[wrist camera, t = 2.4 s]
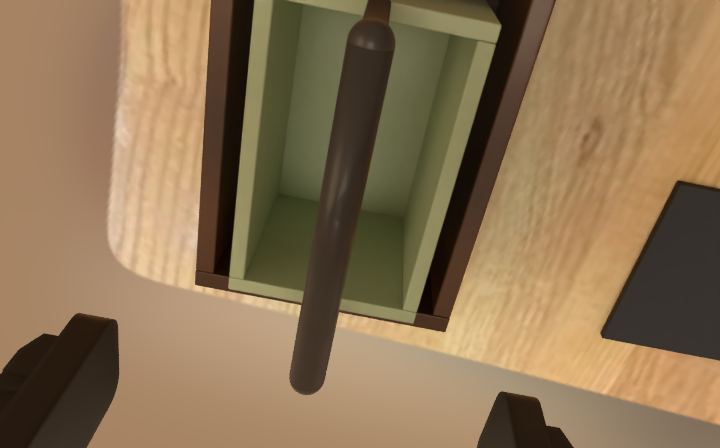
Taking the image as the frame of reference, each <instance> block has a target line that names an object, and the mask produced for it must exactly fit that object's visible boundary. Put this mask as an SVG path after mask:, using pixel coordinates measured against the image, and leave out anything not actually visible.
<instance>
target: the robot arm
mask: <svg viewBox="0 0 720 448" xmlns="http://www.w3.org/2000/svg"><path fill="white" fill-rule="evenodd" d="M118 379H119V348H118V324H117V321H116V320H114V319H109V318H104V317H98V316H93V315H87V314H81V313H77V314H76V315H74V316H73V318H72V319H71V320H70V321H69V323H68V324H67V325H66V327H65V328H64V329H63V331H62V332H61V333H60V335H59V336H55V335H50V334H42V335H41V336H39V337H38V338H36V339H34V340H33V341H31V342H30V343H28V344H27V345H25V346H24V347H22V348H21V349H19V350H18V351H17V353H16V354H15V355H14V356H13V358H12V359H11V360H10V361H9V362H8V364H7V365H6V366H5V367H4V369H3V372H2V374H0V448H87V446H88V444H89V442H90V440H91V439H92V437H93V435H94V433H95V432H96V430H97V428H98V426H99V424H100V422H101V421H102V419H103V417H104V415H105V413H106V412H107V410H108V408H109V406H110V404H111V402H112V400H113V398H114V395H115V392H116V389H117V384H118ZM477 448H574V447H573V446H572V445H571V443H570V442H569V441H568V439H567V438H566V436H565V435H564V433H563V432H562V431H561V429H560V428H557V427H551V426H546V424H545V420H544V416H543V412H542V408H541V404H540V402H539V400H538V399H537V398H535V397H530V396H524V395H518V394H513V393H508V392H500V393H499V394H498V396H497V398H496V400H495V402H494V405H493V407H492V410H491V412H490V414H489V417H488V419H487V421H486V424H485V426H484V429H483V431H482V433H481V436H480V438H479V441H478V445H477Z"/></svg>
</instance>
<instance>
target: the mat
mask: <svg viewBox="0 0 720 448" xmlns="http://www.w3.org/2000/svg"><path fill="white" fill-rule="evenodd" d="M601 336H602V338H605V339H610V340H615V341H620V342H626V343H631V344H636V345H641V346H647V347H652V348H657V349H662V350H668V351H673V352H678V353H683V354H689V355H694V356H699V357H704V358H710V359H715V360H720V189H715V188H710V187H705V186H700V185H695V184H690V183H685V182H680V181H678V182H677V184H676V186H675V188H674V190H673V192H672V194H671V196H670V198H669V200H668V202H667V204H666V206H665V207H664V209H663V211H662V213H661V215H660V217H659V219H658V221H657V223H656V225H655V227H654V229H653V231H652V233H651V235H650V237H649V239H648V241H647V243H646V245H645V247H644V249H643V251H642V253H641V255H640V257H639V259H638V261H637V263H636V265H635V267H634V269H633V271H632V273H631V275H630V277H629V278H628V280H627V282H626V284H625V286H624V288H623V290H622V292H621V294H620V296H619V298H618V300H617V302H616V304H615V306H614V308H613V310H612V312H611V314H610V316H609V318H608V320H607V322H606V324H605V326H604V328H603V330H602V332H601Z"/></svg>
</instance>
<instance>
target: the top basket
mask: <svg viewBox="0 0 720 448" xmlns="http://www.w3.org/2000/svg"><path fill="white" fill-rule="evenodd" d="M500 30H501V24H500V22H499V20H498V19H497V17H496V16H495V14H494V12H493V11H492V9H491V7H490V6H489V4H488V2H487V1H486V0H254V10H253V21H252V32H251V43H250V54H249V65H248V76H247V87H246V98H245V109H244V120H243V131H242V142H241V153H240V164H239V175H238V186H237V197H236V208H235V219H234V230H233V241H232V252H231V263H230V274H229V275H230V277H229V284H228V288H229V289H232V290H237V291H242V292H248V293H253V294H258V295H264V296H269V297H274V298H279V299H285V300H290V301H295V302H300V303H302V305H301V311H300V317H299V323H298V329H297V335H296V340H295V346H294V352H293V358H292V363H291V370H290V377H289V379H290V383H291V386H292V387H293V388H294V390H296V391H297V392H298V393H300V394H303V395H310V394H314V393H316V392H317V391H318V390H319V389H320V388H321V387H322V385H323V383H324V380H325V375H326V370H327V365H328V361H329V356H330V352H331V347H332V342H333V338H334V333H335V328H336V323H337V319H338V314H339V310H343V311H348V312H353V313H358V314H364V315H369V316H374V317H380V318H385V319H390V320H395V321H401V322H406V323H411V324H413V323H414V320H415V317H416V312H417V310H418V306H419V303H420V300H421V296H422V293H423V289H424V286H425V283H426V279H427V276H428V273H429V269H430V266H431V262H432V259H433V256H434V252H435V249H436V246H437V242H438V239H439V236H440V232H441V229H442V225H443V222H444V219H445V215H446V212H447V209H448V205H449V202H450V198H451V195H452V192H453V188H454V185H455V182H456V178H457V175H458V172H459V168H460V165H461V161H462V158H463V155H464V151H465V148H466V145H467V141H468V138H469V134H470V131H471V128H472V124H473V121H474V118H475V114H476V111H477V108H478V104H479V101H480V97H481V94H482V91H483V87H484V84H485V81H486V77H487V74H488V70H489V67H490V64H491V60H492V57H493V54H494V50H495V47H496V45H495V43H496V42H497V40H498V37H499V33H500Z"/></svg>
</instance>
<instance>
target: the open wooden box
mask: <svg viewBox="0 0 720 448" xmlns="http://www.w3.org/2000/svg"><path fill="white" fill-rule="evenodd" d="M486 1H487V2H488V4H489V6H490V7H491V9H492V11H493V12H494V14H495V16H496V17H497V19H498V20H499V22H500V24H501V30H500V33H499V37H498V40H497V42H496V43H495V45H496V47H495V50H494V54H493V57H492V60H491V64H490V67H489V70H488V74H487V77H486V81H485V84H484V87H483V91H482V94H481V97H480V101H479V104H478V108H477V111H476V114H475V118H474V121H473V124H472V128H471V131H470V134H469V138H468V141H467V145H466V148H465V151H464V155H463V158H462V161H461V165H460V168H459V172H458V175H457V178H456V182H455V185H454V188H453V192H452V195H451V198H450V202H449V205H448V209H447V212H446V215H445V219H444V222H443V225H442V229H441V232H440V236H439V239H438V242H437V246H436V249H435V252H434V256H433V259H432V262H431V266H430V269H429V273H428V276H427V279H426V283H425V286H424V289H423V293H422V296H421V300H420V303H419V306H418V310H417V312H416V317H415V320H414V323H413V324H411V323H406V322H401V321H395V320H390V319H385V318H380V317H374V316H369V315H364V314H358V313H353V312H348V311H343V310H339V312H341V313H346V314H352V315H357V316H362V317H368V318H373V319H378V320H383V321H389V322H394V323H399V324H404V325H410V326H415V327H420V328H426V329H431V330H436V331H441V332H445V331H446V328H447V325H448V322H449V317H450V315H451V312H452V309H453V306H454V303H455V300H456V298H457V295H458V292H459V289H460V286H461V283H462V280H463V277H464V274H465V271H466V268H467V265H468V262H469V259H470V256H471V253H472V250H473V247H474V244H475V241H476V238H477V235H478V232H479V229H480V226H481V223H482V220H483V217H484V214H485V211H486V208H487V205H488V202H489V199H490V196H491V193H492V190H493V187H494V184H495V181H496V178H497V175H498V172H499V169H500V166H501V163H502V160H503V157H504V154H505V151H506V148H507V145H508V142H509V139H510V136H511V133H512V130H513V127H514V124H515V121H516V118H517V115H518V112H519V109H520V106H521V103H522V100H523V97H524V94H525V91H526V88H527V85H528V82H529V79H530V76H531V73H532V70H533V67H534V64H535V61H536V58H537V55H538V52H539V49H540V46H541V43H542V40H543V37H544V34H545V31H546V28H547V25H548V22H549V19H550V16H551V13H552V10H553V7H554V5H555V2H556V0H486ZM253 10H254V0H211V12H210V30H209V48H208V66H207V84H206V101H205V119H204V137H203V155H202V173H201V191H200V209H199V226H198V244H197V262H196V269H197V270H196V276H195V285H199V286H204V287H209V288H214V289H220V290H225V291H230V292H236V293H241V294H246V295H251V296H257V297H262V298H267V299H273V300H278V301H283V302H288V303H294V304H299V305H302V303H300V302H295V301H290V300H285V299H279V298H274V297H269V296H264V295H258V294H253V293H248V292H242V291H237V290H232V289H229V288H228V284H229V277H230V275H229V274H230V263H231V252H232V241H233V230H234V219H235V208H236V197H237V186H238V175H239V164H240V153H241V142H242V131H243V120H244V109H245V98H246V87H247V76H248V65H249V54H250V43H251V32H252V21H253Z"/></svg>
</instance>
